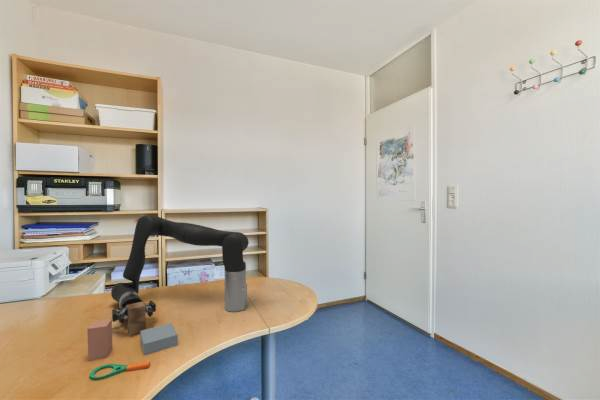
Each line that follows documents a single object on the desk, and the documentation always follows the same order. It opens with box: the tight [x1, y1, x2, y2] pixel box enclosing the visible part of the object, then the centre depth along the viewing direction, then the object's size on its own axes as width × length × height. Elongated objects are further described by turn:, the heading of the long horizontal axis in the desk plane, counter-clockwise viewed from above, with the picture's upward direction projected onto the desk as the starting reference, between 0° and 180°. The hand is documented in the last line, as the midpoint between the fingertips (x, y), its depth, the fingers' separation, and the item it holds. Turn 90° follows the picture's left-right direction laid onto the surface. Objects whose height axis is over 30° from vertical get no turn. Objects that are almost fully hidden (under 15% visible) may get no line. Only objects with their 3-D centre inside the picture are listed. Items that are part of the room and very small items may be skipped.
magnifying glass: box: [89, 361, 151, 381], centre depth 81 cm, size 15×6×2 cm, turn 105°
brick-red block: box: [86, 318, 113, 362], centre depth 88 cm, size 5×5×10 cm
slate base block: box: [139, 322, 179, 356], centre depth 95 cm, size 10×10×4 cm
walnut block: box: [127, 301, 147, 338], centre depth 102 cm, size 5×5×10 cm
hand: (137, 317), depth 101 cm, fingers open, 8 cm apart
